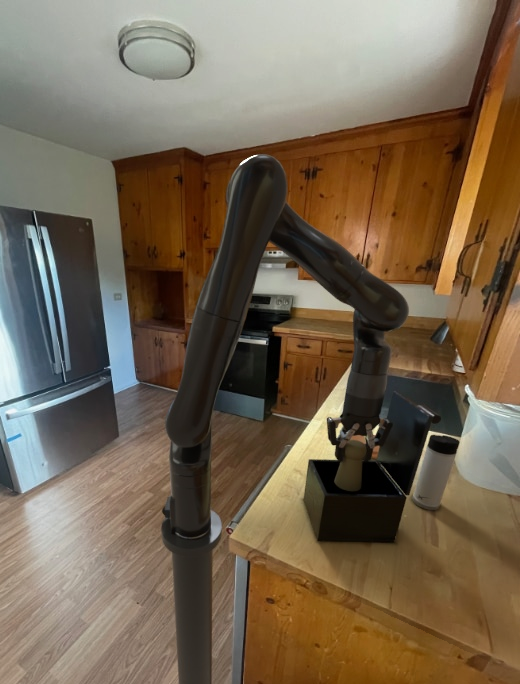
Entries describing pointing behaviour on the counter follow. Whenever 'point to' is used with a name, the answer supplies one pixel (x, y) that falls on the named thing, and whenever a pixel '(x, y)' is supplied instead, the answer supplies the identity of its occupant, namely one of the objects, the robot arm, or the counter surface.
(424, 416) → the lid
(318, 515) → the black open box
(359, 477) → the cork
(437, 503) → the travel mug
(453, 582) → the counter surface
